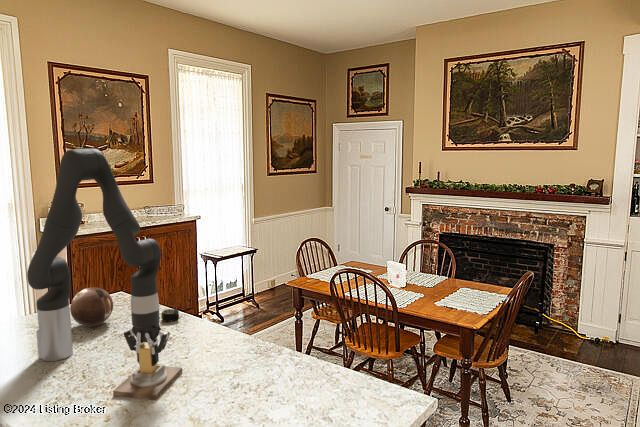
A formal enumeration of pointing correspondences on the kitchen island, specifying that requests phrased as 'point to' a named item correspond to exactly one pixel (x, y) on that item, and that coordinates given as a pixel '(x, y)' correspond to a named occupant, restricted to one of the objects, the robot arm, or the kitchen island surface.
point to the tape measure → (170, 315)
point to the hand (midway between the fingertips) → (148, 363)
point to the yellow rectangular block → (146, 360)
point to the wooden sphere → (91, 306)
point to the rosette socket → (148, 383)
